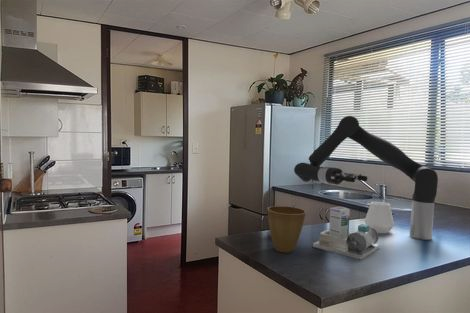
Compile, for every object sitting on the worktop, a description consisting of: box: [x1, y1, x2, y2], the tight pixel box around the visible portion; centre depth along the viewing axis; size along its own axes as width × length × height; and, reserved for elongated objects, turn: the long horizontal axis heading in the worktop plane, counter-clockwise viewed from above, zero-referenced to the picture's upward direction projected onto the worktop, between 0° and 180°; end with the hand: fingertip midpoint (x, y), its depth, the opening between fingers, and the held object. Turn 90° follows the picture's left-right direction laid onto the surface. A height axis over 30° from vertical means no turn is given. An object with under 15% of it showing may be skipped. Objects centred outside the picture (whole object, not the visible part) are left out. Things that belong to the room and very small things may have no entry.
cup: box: [364, 201, 395, 234], centre depth 172 cm, size 13×13×14 cm
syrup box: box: [328, 206, 351, 239], centre depth 145 cm, size 6×6×14 cm
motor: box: [312, 223, 381, 260], centre depth 143 cm, size 20×20×10 cm
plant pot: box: [267, 205, 307, 254], centre depth 137 cm, size 15×15×16 cm
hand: (360, 179), depth 147 cm, fingers open, 8 cm apart
